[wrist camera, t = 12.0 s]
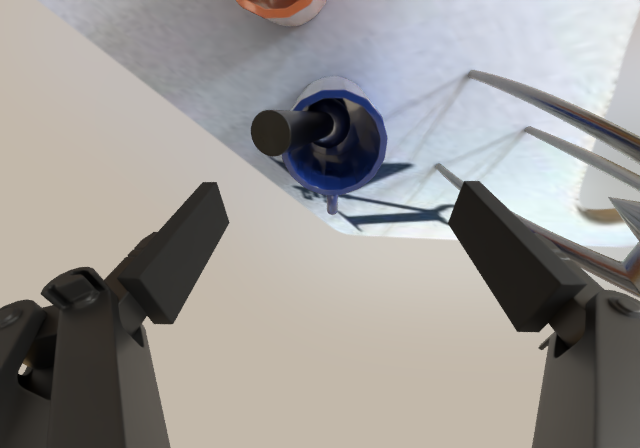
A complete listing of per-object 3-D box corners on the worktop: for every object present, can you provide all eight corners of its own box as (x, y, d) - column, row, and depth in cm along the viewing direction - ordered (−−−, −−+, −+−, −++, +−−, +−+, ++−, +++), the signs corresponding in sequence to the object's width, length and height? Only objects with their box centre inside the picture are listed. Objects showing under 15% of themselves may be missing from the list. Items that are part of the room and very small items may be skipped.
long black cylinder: (311, 99, 28) (222, 82, 13) (354, 99, 27) (313, 80, 12) (311, 144, 30) (236, 176, 15) (351, 145, 29) (314, 181, 14)
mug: (290, 76, 26) (273, 90, 18) (374, 75, 26) (394, 88, 18) (299, 182, 34) (290, 224, 26) (364, 181, 34) (375, 224, 26)
